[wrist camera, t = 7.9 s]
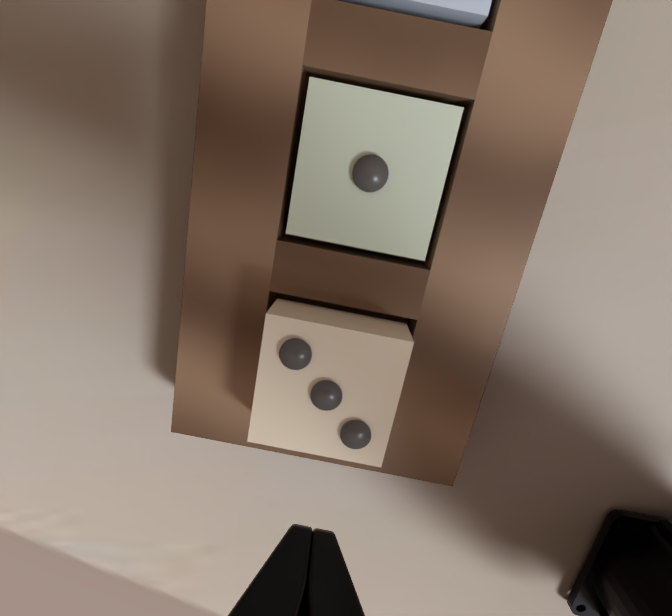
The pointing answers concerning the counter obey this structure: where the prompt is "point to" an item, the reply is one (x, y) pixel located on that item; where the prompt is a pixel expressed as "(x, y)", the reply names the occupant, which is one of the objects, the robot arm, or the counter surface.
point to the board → (355, 263)
